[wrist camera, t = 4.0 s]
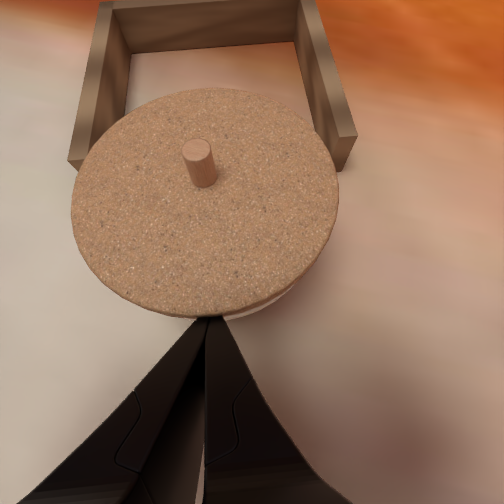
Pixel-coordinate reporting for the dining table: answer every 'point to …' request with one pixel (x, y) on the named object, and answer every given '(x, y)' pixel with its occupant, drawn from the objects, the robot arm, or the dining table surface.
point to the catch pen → (203, 36)
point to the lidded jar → (205, 203)
